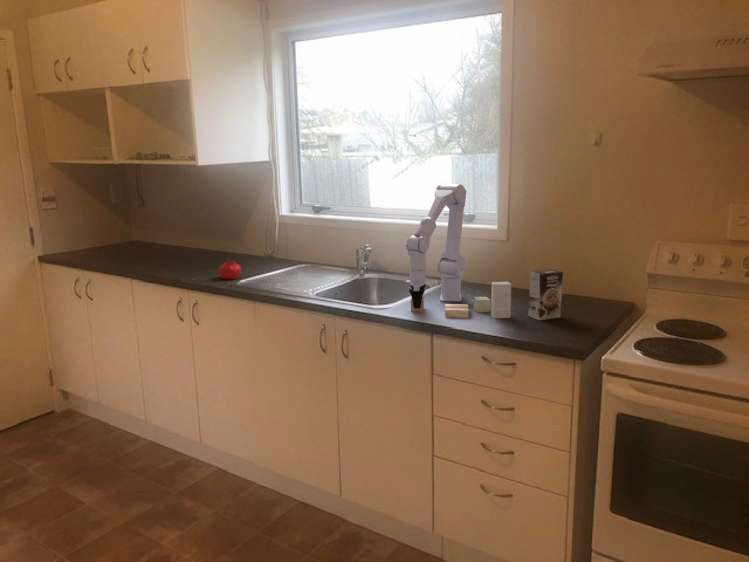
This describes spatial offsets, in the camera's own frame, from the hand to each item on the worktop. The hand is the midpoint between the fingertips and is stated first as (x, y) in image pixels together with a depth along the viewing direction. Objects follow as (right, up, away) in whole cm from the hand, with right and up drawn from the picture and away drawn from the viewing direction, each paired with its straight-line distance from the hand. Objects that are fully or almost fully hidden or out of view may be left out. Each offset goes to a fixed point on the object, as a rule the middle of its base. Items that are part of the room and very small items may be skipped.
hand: (417, 305), depth 224 cm
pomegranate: (-81, +10, +56) cm, 99 cm away
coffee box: (+43, -4, -11) cm, 44 cm away
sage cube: (+23, -2, -1) cm, 23 cm away
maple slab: (+13, -3, -6) cm, 15 cm away
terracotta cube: (0, -2, 0) cm, 2 cm away
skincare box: (+28, -4, -10) cm, 30 cm away
